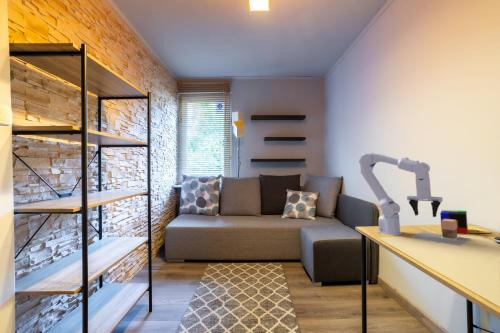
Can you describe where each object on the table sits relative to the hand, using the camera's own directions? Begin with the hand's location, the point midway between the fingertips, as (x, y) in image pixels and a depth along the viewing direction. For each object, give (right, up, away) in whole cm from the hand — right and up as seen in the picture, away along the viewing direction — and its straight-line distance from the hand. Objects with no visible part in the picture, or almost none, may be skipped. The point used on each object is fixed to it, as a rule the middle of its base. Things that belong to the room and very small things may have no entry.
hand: (425, 215), depth 129 cm
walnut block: (+9, -9, -3) cm, 14 cm away
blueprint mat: (+4, -10, -3) cm, 11 cm away
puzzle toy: (+19, -9, +7) cm, 23 cm away
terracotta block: (+9, -5, -3) cm, 11 cm away
